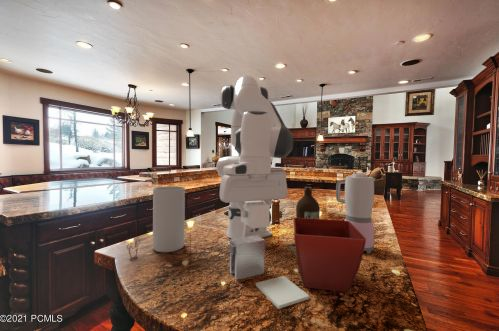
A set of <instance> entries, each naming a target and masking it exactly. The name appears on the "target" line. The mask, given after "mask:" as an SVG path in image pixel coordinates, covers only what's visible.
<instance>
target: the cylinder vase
mask: <svg viewBox="0 0 499 331" xmlns="http://www.w3.org/2000/svg"><path fill="white" fill-rule="evenodd" d="M185 191H186V189H185V187H183V186H177V185H176V186H175V185H174V186H170V185H169V186H168V185H167V186H158V187H157V186H156V187H154V188H152V205H153V206H152V249H153V250H154V251H155V252H158V253H172V252H177V251H179V250H181V249H182V248H184V246H185V220H186V219H185V218H186V216H185V209H186V208H185V205H186V203H185V202H186V200H185V199H186V198H185V197H186V195H185V194H186V192H185Z"/></svg>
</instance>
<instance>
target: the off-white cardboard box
mask: <svg viewBox="0 0 499 331" xmlns="http://www.w3.org/2000/svg"><path fill="white" fill-rule="evenodd" d="M243 207H244V209H245V210H246V211H248V217H246V218H242V217H241V222H243V223H245V224H246V225H248V226H250V227H251V228H260V227H266V228H267V227H270V208H271V206H270V205H269V204H266V203H265V202H263V201H262V200H260V201H245V205H244V206H243Z"/></svg>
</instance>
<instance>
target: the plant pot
mask: <svg viewBox="0 0 499 331" xmlns="http://www.w3.org/2000/svg"><path fill="white" fill-rule="evenodd" d="M293 235H294V236H293V237H294V244H295V246H294V247H295V248H294V249H295V250H296V255H297V258H296V260H297V266H298V269H299V275H300V278H301V282H302V285H303V287H305V288H308V289H316V290H326V291H335V292H344V293H347V292H349V291H350V290H351V287H352V286H353V283H354V281H355V279H356V277H357V274H358V271H359V268H360V267H361V262H362V259H363V255H364V252H365V251H364V248H365V243H366V238H365V237H364V236H363V235H362V234H361V233H360V232H359V231H358V230H357V229H356V228H355V227H354V225H353V224H352V223H351V222H350V221H344V220H340V219H323V218H319V219H310V218H297V217H293Z"/></svg>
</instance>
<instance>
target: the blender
mask: <svg viewBox="0 0 499 331" xmlns="http://www.w3.org/2000/svg"><path fill="white" fill-rule="evenodd" d="M376 179H377V178H374V177H372V176H367V173H352V175H347V176H346V177H345V179H339V180H338V181H337V182H336V186H335V198H336V199H335V200H336V201H337V202H338V203H341V204H345V212H346V215H345V218H344V220H343V221H350V222H351V223H352V224H353V225H354V227H355V228H356V229H357V230H358V231H359V232H360V233H361V234H362V235H363V236H364V237H365V238H366V243H365V248H364V252H366V254H371V253H372V251H373V250H374V249H375V224H374V222H373V220H372V212H373V207H374V201H375V180H376ZM342 184H344V198H341V185H342Z"/></svg>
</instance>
